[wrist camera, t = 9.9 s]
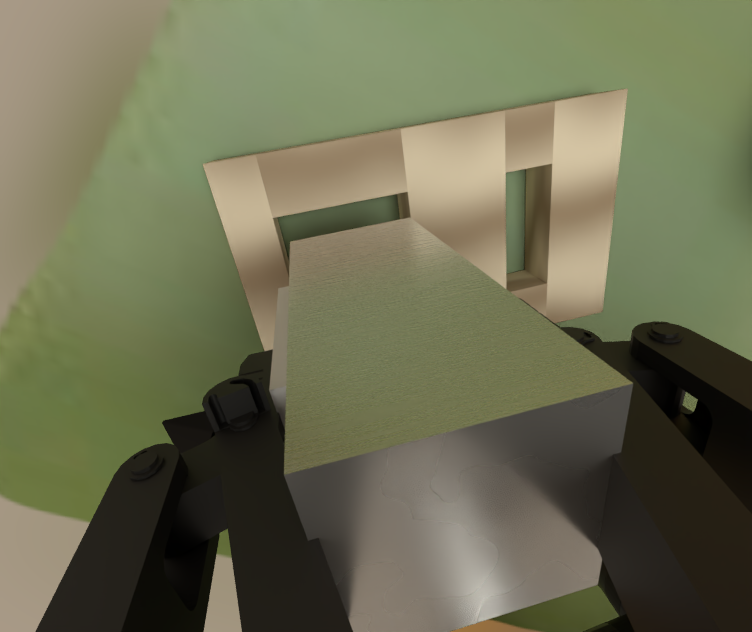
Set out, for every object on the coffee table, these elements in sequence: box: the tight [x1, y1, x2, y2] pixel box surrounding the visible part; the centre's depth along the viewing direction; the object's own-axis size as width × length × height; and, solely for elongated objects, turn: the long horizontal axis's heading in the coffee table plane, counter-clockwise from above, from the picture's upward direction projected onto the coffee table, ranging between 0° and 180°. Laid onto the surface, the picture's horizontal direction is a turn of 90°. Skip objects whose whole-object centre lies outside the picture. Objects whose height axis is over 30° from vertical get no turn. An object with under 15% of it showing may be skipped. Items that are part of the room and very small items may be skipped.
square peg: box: [284, 218, 633, 632], centre depth 12 cm, size 5×5×12 cm
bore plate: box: [203, 89, 628, 351], centre depth 21 cm, size 12×20×2 cm, turn 99°
